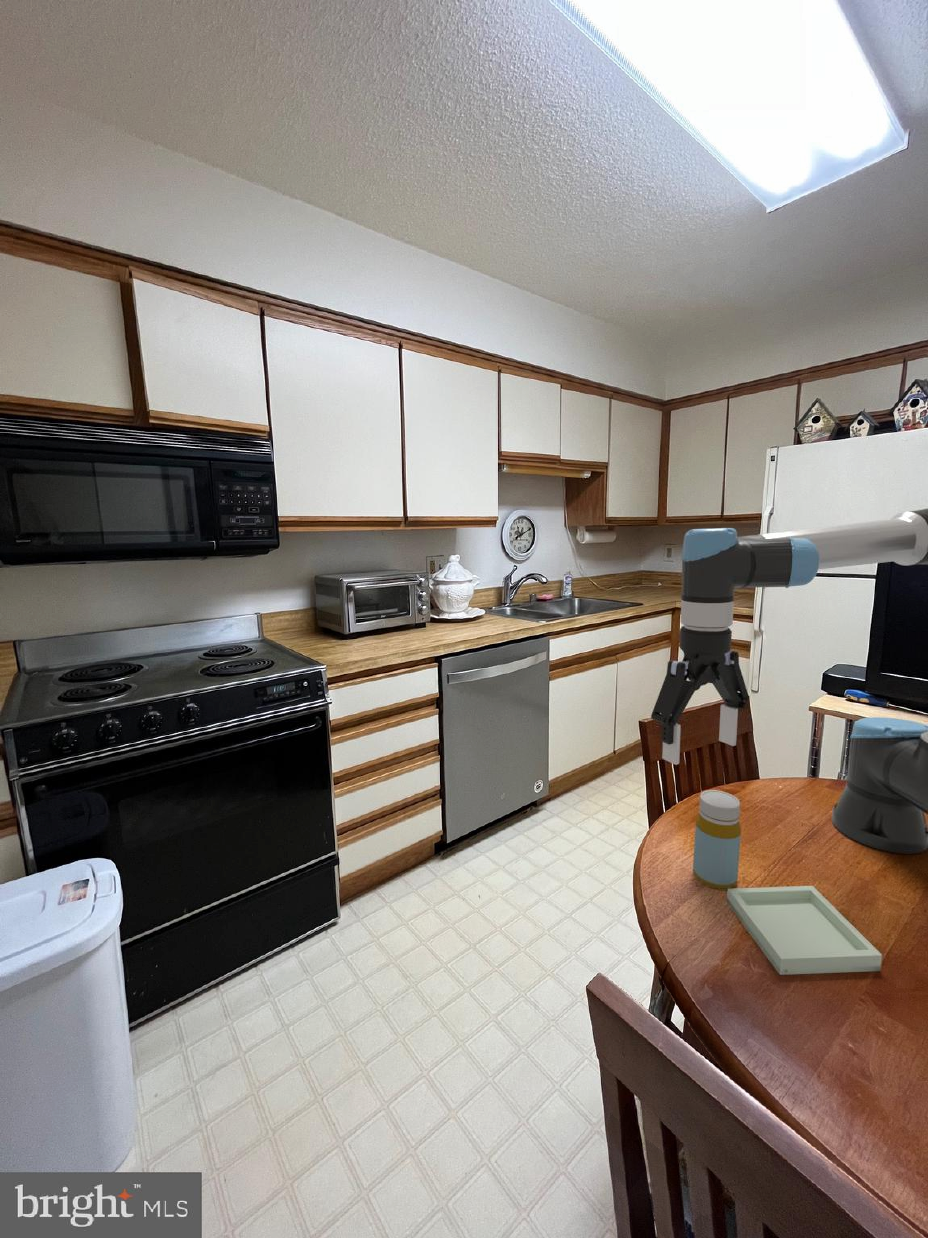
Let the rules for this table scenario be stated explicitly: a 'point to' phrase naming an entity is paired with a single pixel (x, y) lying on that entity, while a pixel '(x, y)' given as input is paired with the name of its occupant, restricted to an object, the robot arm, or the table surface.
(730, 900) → the pale green square tray
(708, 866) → the bottle
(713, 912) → the table surface
